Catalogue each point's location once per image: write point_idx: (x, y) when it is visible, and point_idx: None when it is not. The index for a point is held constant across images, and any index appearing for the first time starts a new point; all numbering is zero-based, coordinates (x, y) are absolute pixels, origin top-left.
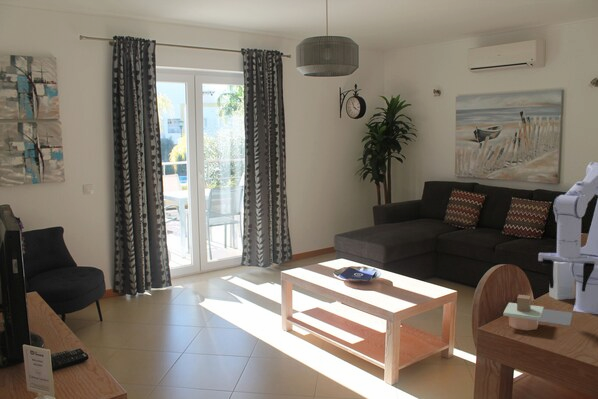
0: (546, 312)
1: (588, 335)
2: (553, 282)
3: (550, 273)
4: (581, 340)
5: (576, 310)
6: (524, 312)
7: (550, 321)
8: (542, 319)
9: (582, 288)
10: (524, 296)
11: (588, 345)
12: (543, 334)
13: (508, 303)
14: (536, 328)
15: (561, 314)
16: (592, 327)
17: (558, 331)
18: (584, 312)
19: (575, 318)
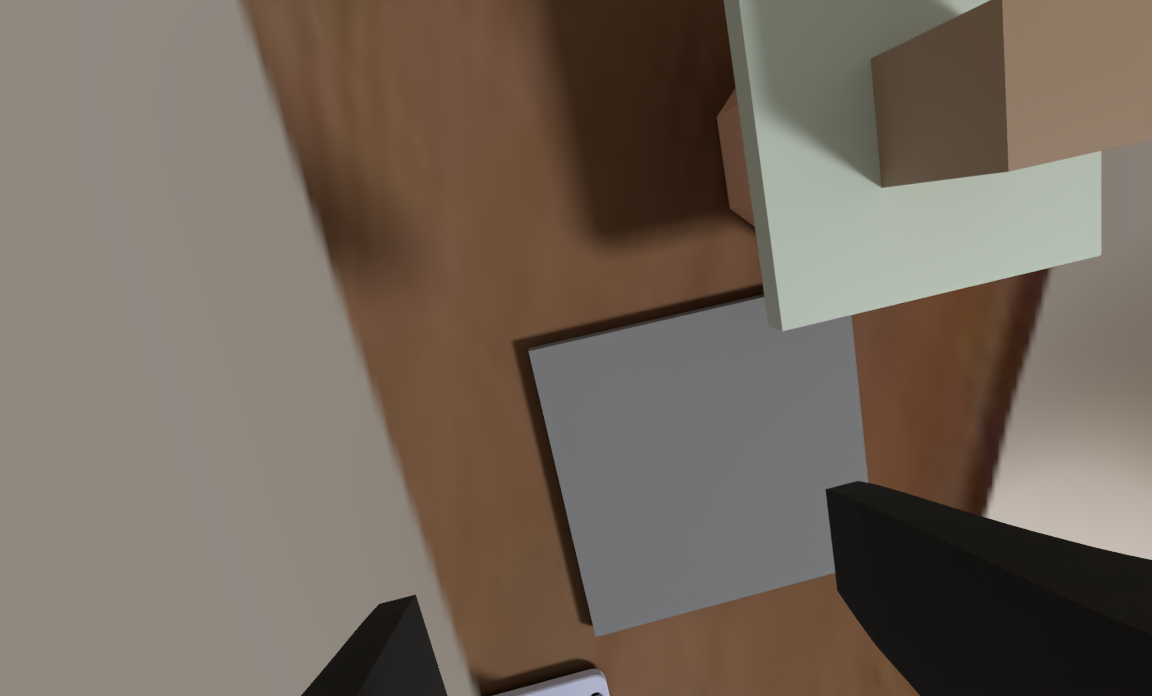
0: (755, 524)
1: (359, 260)
2: (877, 615)
3: (1133, 600)
4: (364, 109)
5: (585, 689)
6: (909, 18)
7: (679, 351)
8: (741, 355)
9: (393, 619)
10: (1078, 90)
11: (280, 24)
12: (650, 62)
13: (1100, 219)
14: (726, 111)
15: (652, 550)
16: (393, 452)
17: (573, 206)
18: (527, 690)
19: (553, 560)
